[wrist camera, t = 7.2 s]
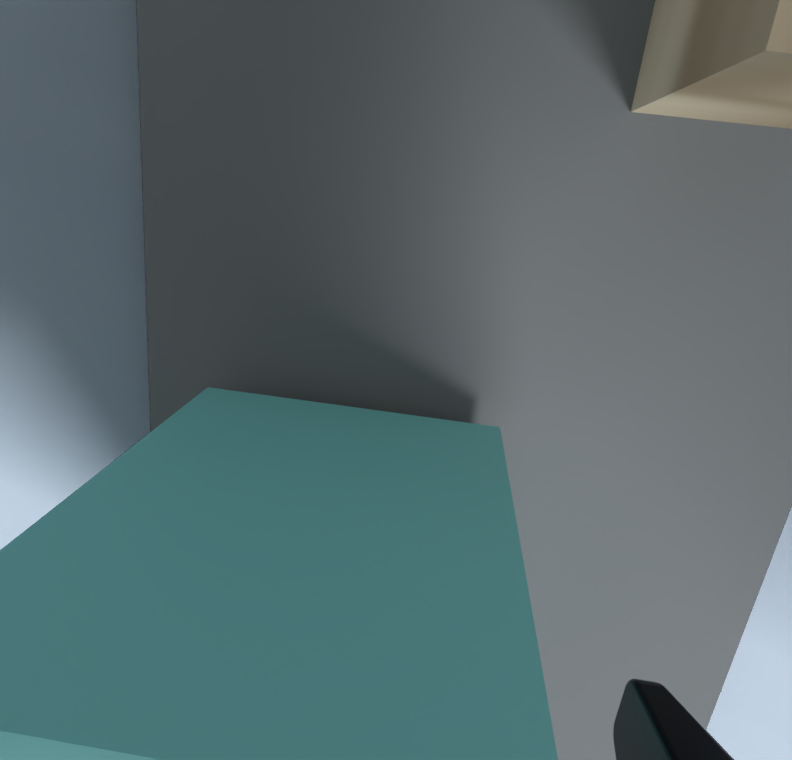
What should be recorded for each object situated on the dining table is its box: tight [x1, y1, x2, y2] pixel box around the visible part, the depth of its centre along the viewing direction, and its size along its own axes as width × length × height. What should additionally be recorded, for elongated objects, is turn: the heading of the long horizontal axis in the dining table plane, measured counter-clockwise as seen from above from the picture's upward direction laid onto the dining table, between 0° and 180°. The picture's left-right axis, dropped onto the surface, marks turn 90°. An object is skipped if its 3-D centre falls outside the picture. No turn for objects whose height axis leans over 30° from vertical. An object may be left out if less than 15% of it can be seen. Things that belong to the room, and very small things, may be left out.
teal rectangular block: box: [0, 387, 558, 760], centre depth 8 cm, size 5×5×7 cm
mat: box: [136, 0, 792, 760], centre depth 11 cm, size 12×25×1 cm, turn 174°
